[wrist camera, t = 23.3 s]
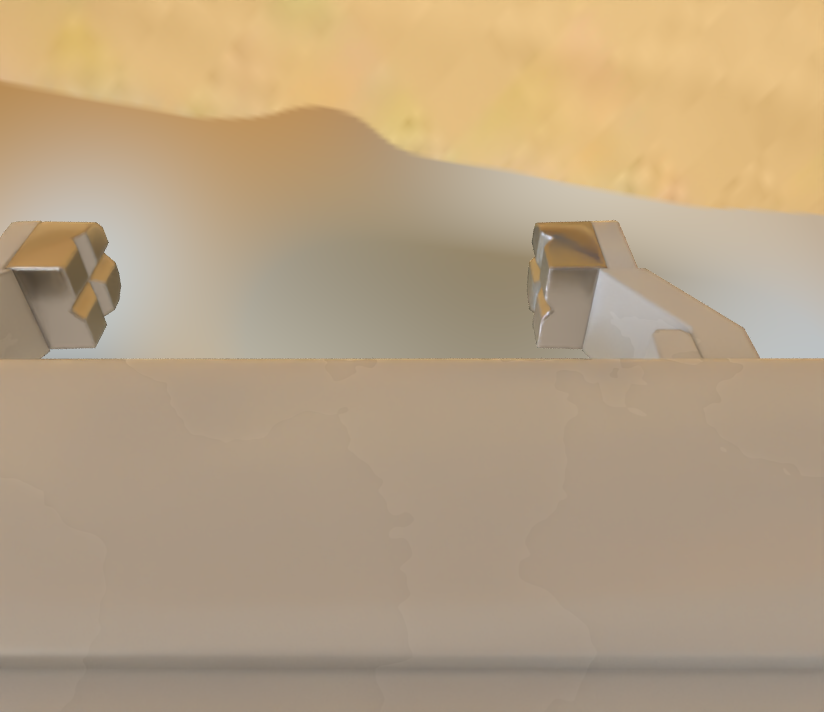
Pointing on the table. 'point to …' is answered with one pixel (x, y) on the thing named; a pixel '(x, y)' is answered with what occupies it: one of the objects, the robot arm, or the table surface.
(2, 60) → the table surface
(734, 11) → the table surface
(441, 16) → the table surface
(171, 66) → the table surface
